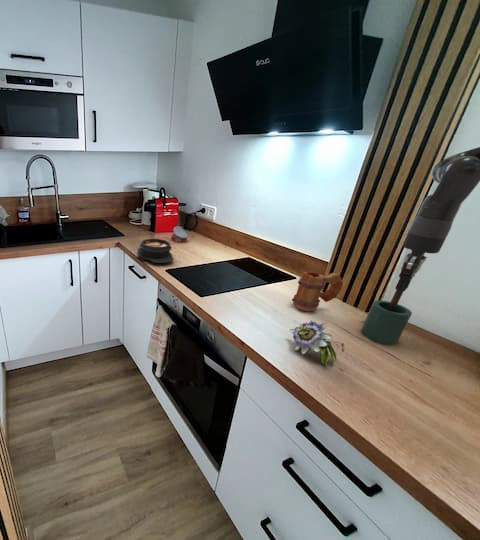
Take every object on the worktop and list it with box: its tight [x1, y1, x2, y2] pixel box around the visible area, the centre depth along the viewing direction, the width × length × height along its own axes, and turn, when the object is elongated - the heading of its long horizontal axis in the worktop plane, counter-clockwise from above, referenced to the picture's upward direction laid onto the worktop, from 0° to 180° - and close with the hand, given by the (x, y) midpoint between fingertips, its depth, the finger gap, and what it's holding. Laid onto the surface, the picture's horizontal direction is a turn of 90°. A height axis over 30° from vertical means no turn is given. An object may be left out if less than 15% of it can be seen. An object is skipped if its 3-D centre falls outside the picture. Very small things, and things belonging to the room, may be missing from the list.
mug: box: [291, 270, 344, 312], centre depth 105 cm, size 15×8×15 cm, turn 80°
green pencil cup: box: [360, 299, 413, 346], centre depth 91 cm, size 9×9×11 cm
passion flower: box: [289, 320, 346, 366], centre depth 83 cm, size 11×11×12 cm
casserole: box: [137, 238, 174, 264], centre depth 152 cm, size 25×19×8 cm
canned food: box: [170, 225, 188, 244], centre depth 183 cm, size 11×10×10 cm
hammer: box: [387, 273, 410, 312], centre depth 87 cm, size 4×4×18 cm
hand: (401, 288), depth 86 cm, fingers closed on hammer, 2 cm apart
